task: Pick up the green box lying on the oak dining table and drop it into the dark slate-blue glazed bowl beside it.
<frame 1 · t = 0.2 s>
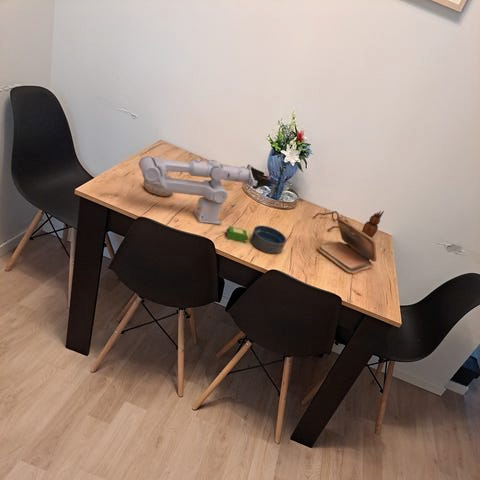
hand: (266, 179, 189), 21 cm above the table, tool horizontal, fingers open, 7 cm apart
sea urchin shell: (158, 191, 199), on the table
glasses: (329, 225, 230), on the table
bowl: (265, 245, 191), on the table
green box: (235, 237, 187), on the table
wooden figurine: (365, 237, 233), on the table
case: (344, 258, 205), on the table
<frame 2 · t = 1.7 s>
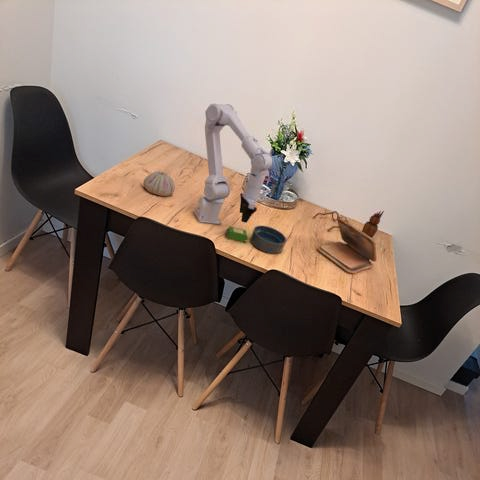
hand: (242, 217, 182), 9 cm above the table, tool pointing down, fingers open, 7 cm apart
nothing on the table moved.
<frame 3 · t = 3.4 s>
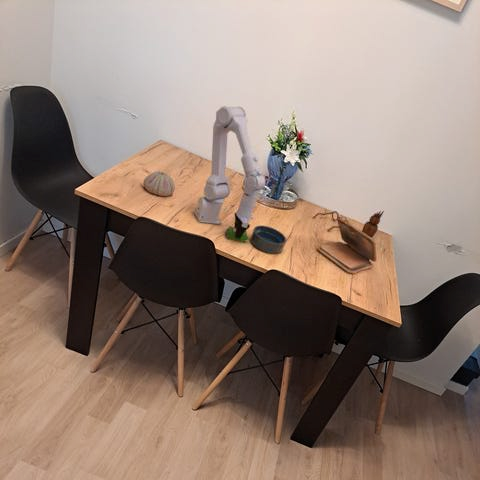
hand: (236, 234, 186), 1 cm above the table, tool pointing down, fingers closed on green box, 4 cm apart
green box: (235, 237, 187), on the table, touching gripper
everything else where it was.
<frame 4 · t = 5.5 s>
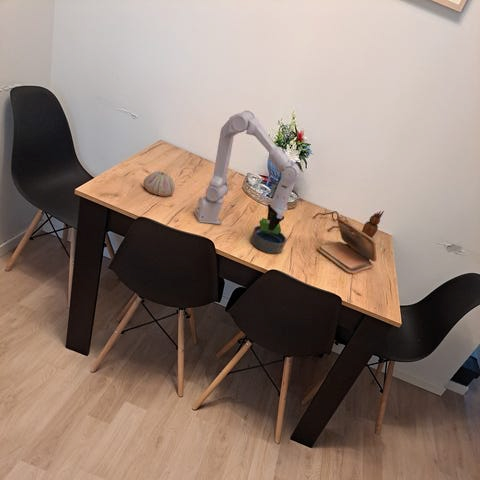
hand: (269, 226, 185), 8 cm above the table, tool pointing down, fingers closed on green box, 4 cm apart
green box: (268, 229, 186), point 7 cm above the table, touching gripper
everything else where it was.
when the fingers open (2 cm above the table, at t = 7.7 s): green box stays where it is, resting on bowl.
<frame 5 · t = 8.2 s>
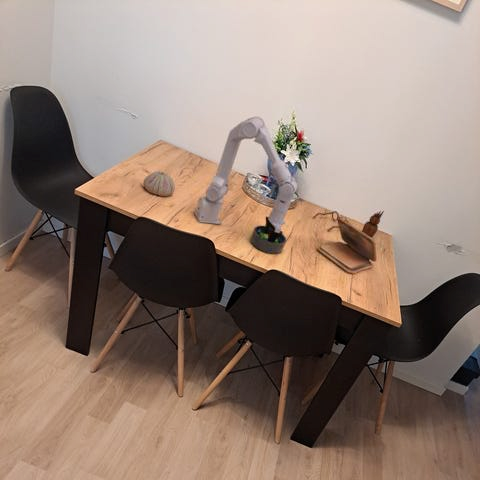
hand: (268, 239, 189), 3 cm above the table, tool pointing down, fingers open, 7 cm apart
green box: (266, 243, 190), point 1 cm above the table, touching bowl
everything else where it was.
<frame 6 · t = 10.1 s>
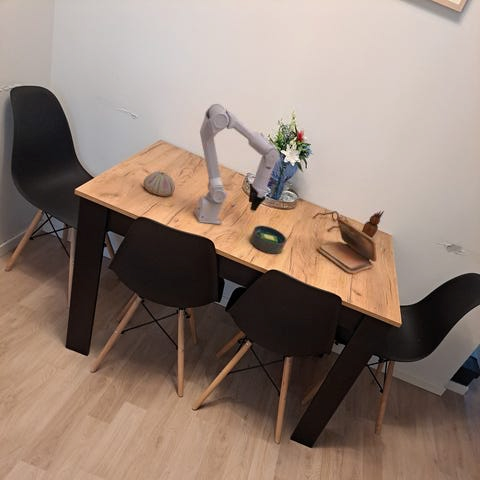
hand: (252, 206, 193), 9 cm above the table, tool pointing down, fingers open, 7 cm apart
nothing on the table moved.
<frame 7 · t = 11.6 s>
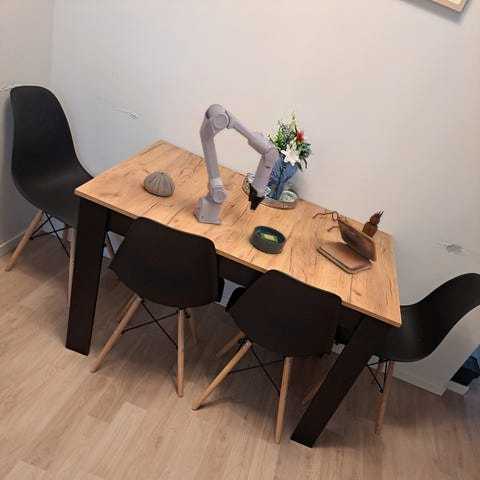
hand: (251, 205, 194), 9 cm above the table, tool pointing down, fingers open, 7 cm apart
nothing on the table moved.
at the end: green box inside the target area in the bowl (0.0 cm from its centre), point 0.6 cm above the bowl's base; the gripper is holding nothing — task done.
